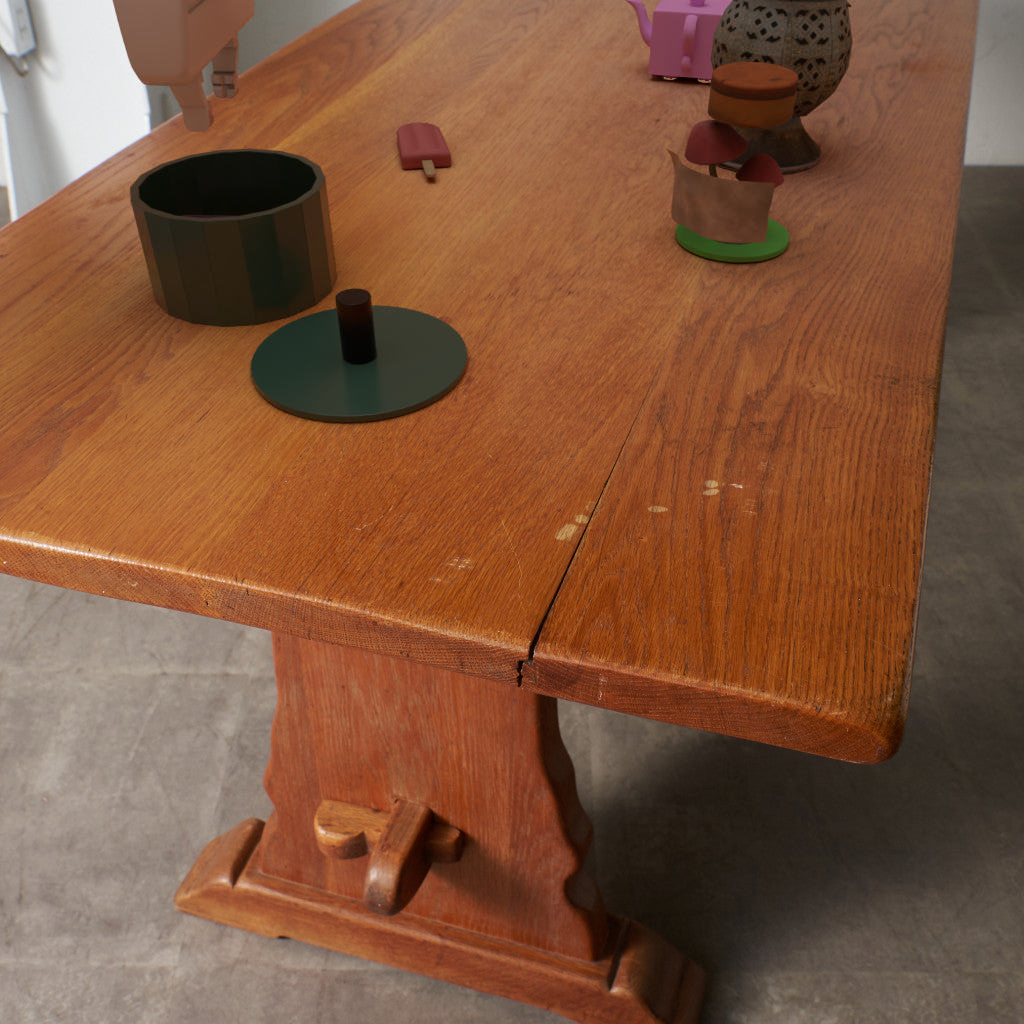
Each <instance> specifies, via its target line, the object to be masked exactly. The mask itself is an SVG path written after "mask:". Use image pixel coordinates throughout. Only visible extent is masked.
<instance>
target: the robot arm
mask: <svg viewBox="0 0 1024 1024" xmlns="http://www.w3.org/2000/svg"><path fill="white" fill-rule="evenodd" d="M112 4H113V8H114V12H115V16H116V20H117V23H118V27H119V30H120V31H119V32H120V35H121V38H122V42H123V45H124V48H125V52H126V55H127V58H128V61H129V64H130V67H131V69H132V71H133V72H134V74H135V75H136V77H137V78H138V80H139V81H140V83H141V84H143V85H145V86H155V87H158V86H159V87H169V88H170V90H171V93H172V94H173V96H174V98H175V100H176V102H177V103H178V106H179V107H180V108H181V113H182V117H183V122H184V126H185V128H186V130H187V131H189V132H192V133H205V132H207V131H209V130H210V128H211V127H212V125H213V124H214V122H215V117H214V115H213V106H212V101H209V100H207V96H206V94H205V91H204V88H203V83H204V82H205V81H204V80H205V79H204V75H203V70H204V69H205V68H206V67H207V66H208V65H209V64H210V63H211V65H212V66H211V67H212V73H211V74H210V79H211V84H212V88H213V94H214V95H215V96H216V98H219V99H226V98H227V99H233V98H235V97H236V95H237V94H238V93H239V92H240V90H241V83H240V78H239V72H238V69H239V51H240V50H239V49H240V42H239V41H240V40H239V36H238V33H239V32H240V30H242V29H243V27H244V26H245V25H246V24H248V23H249V21H250V20H251V19H252V18H253V17H254V15H255V6H256V5H255V4H256V3H255V0H112Z"/></svg>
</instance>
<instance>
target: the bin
mask: <svg viewBox="0 0 1024 1024" xmlns="http://www.w3.org/2000/svg"><path fill="white" fill-rule="evenodd" d="M129 197H130V204H131V208H132V212H133V216H134V220H135V224H136V228H137V231H138V236H139V240H140V244H141V249H142V253H143V256H144V260H145V265H146V268H147V272H148V276H149V280H150V284H151V288H152V293H153V296H154V300H155V303H156V304H157V306H159V307H160V308H161V309H162V310H163V311H164V312H165V313H166V314H167V315H168V316H170V317H173V318H176V319H178V320H181V321H184V322H187V323H189V324H192V325H193V324H194V325H201V326H210V327H219V328H233V327H247V326H257V325H263V324H268V323H272V322H276V321H281V320H285V319H289V318H291V317H294V316H296V315H298V314H301V313H303V312H305V311H307V310H309V309H311V308H313V307H316V306H318V304H319V303H321V302H322V301H323V300H324V299H326V298H327V297H328V296H329V295H330V294H331V293H333V290H334V288H335V285H336V282H337V279H338V272H337V271H338V270H337V263H336V255H335V247H334V238H333V229H332V222H331V214H330V212H331V211H330V205H329V196H328V189H327V181H326V176H325V174H324V172H323V170H322V168H321V166H320V165H319V164H317V163H316V162H314V161H312V160H310V159H308V158H307V157H305V156H304V155H303V156H302V155H299V154H295V153H290V152H287V151H283V150H274V149H262V148H235V149H218V150H212V151H205V152H200V153H193V154H189V155H185V156H181V157H179V158H175V159H172V160H170V161H166V162H163V163H160V164H158V165H156V166H154V167H152V168H151V169H149V170H147V171H146V172H144V173H141V174H140V175H139V176H138V177H137V178H136V180H135V181H134V182H133V183H132V184H131V186H129ZM183 215H209V216H233V217H215V218H196V217H185V216H183Z"/></svg>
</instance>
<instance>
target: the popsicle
mask: <svg viewBox="0 0 1024 1024" xmlns="http://www.w3.org/2000/svg"><path fill="white" fill-rule="evenodd" d="M396 141H397V147H398V154H399V158H400V162H401V166H402V168H403V170H413V169H415V170H417V169H423V171H424V176H425V177H426V178H435V177H436V176H437V171H436V168H442V167H443V168H444V167H451V165H452V153H451V151H450V149H449V146H448V144H447V141H446V140H445V137H444V135H443V133H442V131H441V128H440V127H439V126H437V125H436V124H434V123H429V122H417V121H416V122H410V123H405V124H403V125H400V126H399V128H398V129H396Z"/></svg>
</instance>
